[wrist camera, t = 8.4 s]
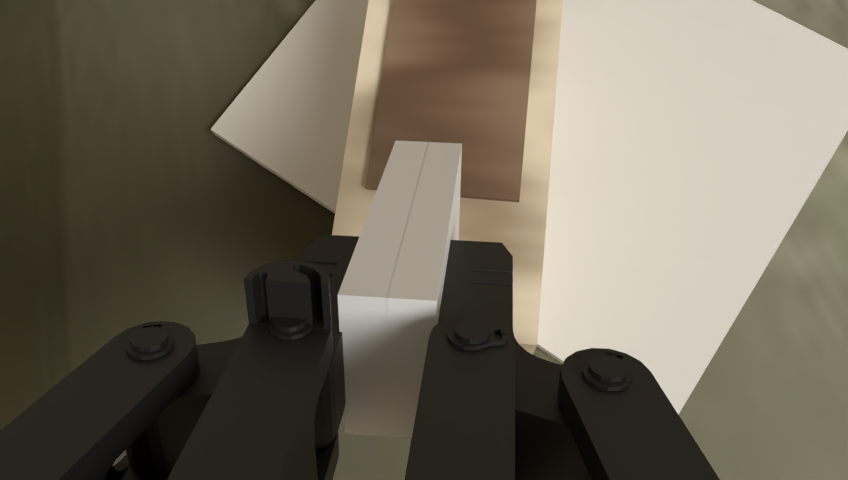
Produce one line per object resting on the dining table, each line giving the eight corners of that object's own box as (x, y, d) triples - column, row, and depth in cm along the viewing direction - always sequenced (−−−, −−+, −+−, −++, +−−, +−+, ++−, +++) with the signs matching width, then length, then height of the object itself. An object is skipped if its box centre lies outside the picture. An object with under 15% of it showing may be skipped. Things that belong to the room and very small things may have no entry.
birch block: (316, 320, 21) (383, -103, 25) (351, 354, 27) (401, 7, 31) (537, 343, 20) (570, -94, 24) (523, 373, 26) (552, 17, 30)
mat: (214, 134, 30) (210, 129, 30) (443, -148, 34) (443, -156, 33) (665, 431, 26) (668, 430, 26) (878, 74, 29) (885, 67, 29)
